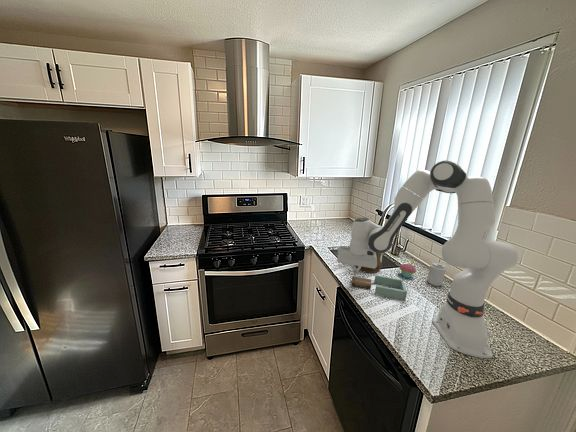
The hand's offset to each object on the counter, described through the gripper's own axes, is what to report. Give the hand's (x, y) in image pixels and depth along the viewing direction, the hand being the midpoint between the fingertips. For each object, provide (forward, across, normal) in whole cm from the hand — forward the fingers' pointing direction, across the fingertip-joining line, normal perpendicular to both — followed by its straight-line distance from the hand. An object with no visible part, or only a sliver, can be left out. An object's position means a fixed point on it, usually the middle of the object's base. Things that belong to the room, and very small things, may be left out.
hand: (355, 272), depth 127 cm
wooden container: (+7, +8, +24) cm, 26 cm away
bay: (+7, +17, +1) cm, 19 cm away
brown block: (+7, +4, +1) cm, 8 cm away
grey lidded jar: (+8, +44, +18) cm, 48 cm away
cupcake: (+7, +30, +21) cm, 37 cm away
